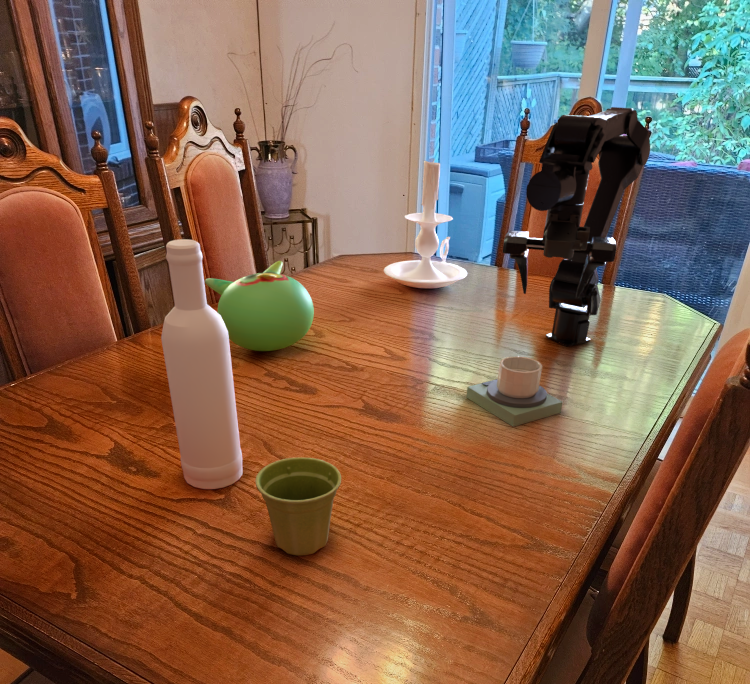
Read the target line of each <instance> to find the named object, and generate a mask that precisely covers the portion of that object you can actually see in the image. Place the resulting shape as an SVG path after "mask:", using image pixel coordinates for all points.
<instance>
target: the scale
mask: <svg viewBox="0 0 750 684" xmlns="http://www.w3.org/2000/svg"><path fill="white" fill-rule="evenodd" d="M497 380H498V378H496V379H492V380H487V381H484V382H481V383H477V384H472V385H469V386H466V395H465V398H466V399H468V400H470V401H471V402H473V403H474V404H476V405H477V406H479V407H481V408H482V409H484V410H486V411H487V412H489V413H490V414H492V415H493V416H495V417H496V418H499V419H500V420H502V421H503V422H505V423H507V424H508V425H510V426H511V427H513V428H514V427H517V426H521V425H524V424H527V423H531V422H534V421H538V420H542V419H545V418H548V417H551V416H555V415H558V414H561V412H562V408H563V401H562V400H561V399H559V398H557V397H555V396H553V395H551V394H549V393H548V392H547V389H545V388H544V387H543V386H542V385H540V384H539V389H538V392H537V393H536V394H535V395H534V396H532V397H529V398H512V397H508V396H506V395H503V394H502V393H501V392H500V391H499V389H498V388H497Z"/></svg>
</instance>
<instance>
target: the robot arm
mask: <svg viewBox="0 0 750 684" xmlns="http://www.w3.org/2000/svg"><path fill="white" fill-rule="evenodd" d="M650 139H651V138H650V132H649V130H648V129H646V127H645V126H644V124H643V123H641V121H639V117H638V112H637V110H636V109H634V108H632V107H617V106H612V107H610V108H606V109H605V110H604V111H601V112H598V113H595V114H591V115H589V116H587V115H571V114H562V115H560V117H559V118H557V122H555V123H554V124H553V126H552V128H551V131H550V133H549V136H548V138H547V140H546V143H545V145H544V147H543V150H542V153H541V155H540V158H539V164H541V169H540V171H538V172H536V173H535V174H533V175H532V176H531V178H530V179H529V181H528V184H527V185H526V189H525V195H526V200H527V201H528V204H529V205H530V206H531V207H532V208H533V209H534V210H537V211H539V212H544V211H546V217H545V224H544V228H543V234H542V238H541V237H529V236H530V232H529V231H523V230H521V231H520V230H508V232H506V233H505V237H504V239H503V245H502V252H501V253H502V254H506V255H509V259H511V260H515V263H516V264H517V268H518V271H519V275H520V281H521V286H522V287H521V288H522V292H523V294H524V295H526V294H527V289H528V283H529V281H528V279H529V278H528V277H529V276H528V275H529V250H536V251H543V253H542V254H543V256H544V257H545V258H548V259H549V258H550V259H551V258H562V259H561V261H560V262H559V264H558V266H557V267H558V268H557V270H556V273H555V275H554V277H553V278H552V279H551V281H550V284H549V287H548V309H555V312H554V318H553V325H552V329H551V332H550V333H546V334H545V338H547V339H549V340H551V341H553V342H555V343H558V344H560V345H562V346H565V347H573V346H576V345H577V346H578V345H581V344H585V343H589V342H591V338H589V337H588V333H589V328H590V317H592V316H598V313H599V309H600V305H601V300H602V299H601V295H600V291H599V285H598V284H599V281H600V279H599V272H598V268H599V267H605V266H606V263H613V262H615V258H616V256H617V255H616V254H617V249H618V248H617V242H616V240H615V239H614V237H608V234H609V231H610V228H611V225H612V223H613V220H614V217H615V215H616V212H617V210H618V207H619V204H620V202H621V200H622V196H623V194H624V191H625V190H626V189H627V188H628V187H629V186H630V185H632V184H633V183H634V182H635V181H636V180H637V179H638V178H639V177H640V174H641V172H642V169H643V167H644V166H645V165H647V163H648V161H649V158H650V154H651V140H650ZM597 157H598V163H597V166H598V170H599V176H600V181H599V184H598V186H597V189H596V192H595V194H594V197H593V200H592V203H591V204H590V205H591V206H590V208H589V211H588V214H587V216H586V219H585V222H584V224H583V226H581V221H582V216H583V210H584V206H585V205H584V204H585V199H586V193H587V187H588V184H589V178H590V171H592V170H593V166H594V165H593V164H592V163H595V162H596V159H597Z"/></svg>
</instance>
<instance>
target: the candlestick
mask: <svg viewBox="0 0 750 684" xmlns="http://www.w3.org/2000/svg"><path fill="white" fill-rule="evenodd" d="M422 174H423V175H422V195H421V204H420V205H421V206H422V212H412V213H408V214H405V215H404V219H406V220H408V221H411V222H414V223H416V224H418V225H419V226H420V231H419V233H418V235H417V237H416V238H415V240H414V245H415V249H416V251H417V254H419V256H421V260H420V259H415V260H403V261H402V260H401V261H398V262H393V263H390V264H388V265H386V266H385V267H384V268H383V273H384V274H385V275H386V276H387V277H390V278H392V280H394V281H396V282H397V283H399V284H401V285H404V286H406V287H411V288H418V289H438V288H439V289H440V288H444V287H448V286H451V285H453V284H455V283H456V282H458V281H461V280H463V279H464V278H465V279H466V277H467V276H468V272H467V270H466V269H465V268H463V267H462V266H460V265H457V264H454V263H449V262H447V261H446V260H447V256H448V253H449V250H450V239H451V236H446V237H445V238H444V239H443V240H442V241H441V242H440V240H439V237H438V235H437V233H436V227H437V226H439V225H441V224H443V223H444V224H445V223H448V222H451V221H452V220H454V218H453V216H451V215H448V214H444V213H439V212H436V208H437V207H436V206H437V201H439V190H440V189H439V188H440V187H439V186H440V176H441V163H440V162H435V158H434V159H433V161H427V160H423V173H422ZM444 247H445V248H444ZM438 249H439V257H440V258H441V261H440V260H439V261H438V260H432V256H434V255H435V254H436V253H437V251H438Z"/></svg>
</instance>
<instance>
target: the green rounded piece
mask: <svg viewBox="0 0 750 684" xmlns="http://www.w3.org/2000/svg"><path fill="white" fill-rule="evenodd" d="M283 265H284V263H283V261H282V260H278V261H275V262H274V263H273V264H272V265H270V266H268V267H267V268H266V269H265V270H264V271H263V272H258V273H252V274H248V275H246V276H242V277H240V278H238V279H236V280H235V281H230V280H225V279H219V278H213V277H211V278H209V277H208V278H206V279H204V284H206V286H208V287H209V288H210V289H211V290H213V291H214V292H215V293H217V294H218V295H219V296H220V298H219V300H218V303H217V313H219V314H220V315H221V317H222V319H223V321H224V323H225V326H226V328H227V330H228V336H229V341H231V342H232V343H234V345H236V346H238V347H241V348H243V349H246V350H250V351H254V352H274V351H279V350H283V349H286V348H288V347H291V346H292V345H295V344H297V343H298V342H300V341H301V340H303V338H304V337H305V336H306V335H307V334H308V333H309V331H310V330H311V327H312V324H313V321H314V316H315V307H314V302H313V300H312V296H311V295H310V293H309V292H308V290H307V289H306V287H305V286H304V285H303V284H302V283H300V282H299V281H298V280H297V279H295V278H293V277H291V276H289V275H285V274H283V273H281V272H282V270H283Z"/></svg>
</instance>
